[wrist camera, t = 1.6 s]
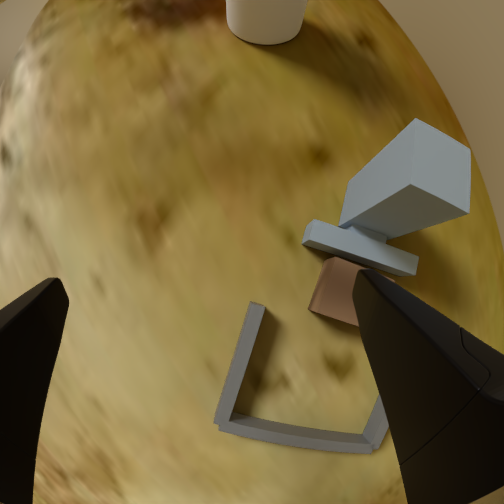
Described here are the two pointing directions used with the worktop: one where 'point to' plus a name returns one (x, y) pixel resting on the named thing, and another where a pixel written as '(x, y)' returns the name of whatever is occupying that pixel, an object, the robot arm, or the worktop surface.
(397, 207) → the grey upright block
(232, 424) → the grey u-shaped bar
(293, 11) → the pill bottle
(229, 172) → the worktop surface
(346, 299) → the block
